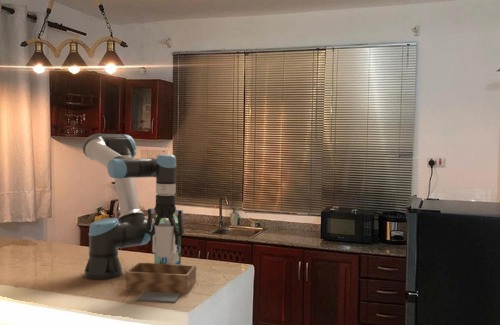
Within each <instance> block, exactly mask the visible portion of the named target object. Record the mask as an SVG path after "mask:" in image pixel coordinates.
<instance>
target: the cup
mask: <svg viewBox="0 0 500 325" xmlns="http://www.w3.org/2000/svg"><path fill="white" fill-rule="evenodd" d="M173 228H174V226H171V224H170V223H159V225H158V226H156V225H155V236H156V256H158V257H170V256H172V255H173V237H174V232H173Z"/></svg>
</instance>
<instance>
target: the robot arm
mask: <svg viewBox="0 0 500 325" xmlns="http://www.w3.org/2000/svg"><path fill="white" fill-rule="evenodd" d="M82 153H83V154H84V155H85V156H86V158H88V159H89V160H91V161H96V162H98V163H99V164H100V165H101V166H103V167H105V168H107V169H106V170H107V173H108V177H110V178H112V179H114V184H115V190H116V196H117V202H118V207H119V212H120V215H119V216H118V218H116V217H106V218H101V219H97V220H94V221H93V222H91V223H90V224H89V232H88V238H89V240H88V244H89V245H88V259H87V261H86V266H85V268H84V277H85V278H87V279H89V280H109V279H115V278H117V277H120V276H121V275H122V274H123V268H122V263H121V261H120V257H119V249H123V248H130V247H131V248H132V247H140V246H143V245H147V244H148V243H149V242H150V244H152V249H151V250H152V251H151V252H152V253H154V252H156V236H155V225H156V226H158V225H159V222H160V220H161V218H168V219H169V221H170V224H171V226H174V228H173V232H174V235H175V236H174V237H173V254H175V253H176V249H177V245H178V244H179V236H181V237H182V236H183V235H185V230H184V229H185V228H184V220H183V214H184V210H183V208H181V209H180V208H177V207H176V193H177V192H176V180H177V179H176V178H177V158H176V156H175V155H174V154H158V155H157V156H156V158H155V157H148V158H135V157H136V155H137V146H136V142H135V140H134V138H133V137H132V136H130V135H129V134H123V133H117V134H115V133H94V134H92V135H89V136H88V137H86V139H85V140H84V141H83V143H82ZM137 178H155V179H156V180H155V194H156V195H155V206H154V207H149V208H147V215H148V216H147V217H146V216H145V213H144V212H143V211H141V209H140V208H141V207H140V203H139V198H138V193H137V189H136V184H135V179H137ZM154 213H156V214H157V218H156V221H155V220H154V223H153V219H154ZM174 214H175V215H176V216H177V218H178V226H179V231H178V228H177V225H176V223H175V220H174V216H173V215H174Z"/></svg>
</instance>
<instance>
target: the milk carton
mask: <svg viewBox="0 0 500 325" xmlns="http://www.w3.org/2000/svg"><path fill="white" fill-rule="evenodd" d="M157 215H158V214H157ZM157 215H154V222H155V221H156V218H157ZM173 216H174V220H175V223H176V225H177V228H178V231H179V226H178V216H177V214H176V213H174V214H173ZM159 223H170V221H169V219H168V218H161V220H160V222H159ZM174 236H175V235H174ZM181 247H182V235H181V236H179V244H178V245H177V249H176V253H175V254H173V255H172V256H170V257H158V256H156V252H154V254H153V255H154V256H153V259H154V262H153V263H157V264H177V265H182V264H181V262H182V260H181V258H182V256H181V255H182V248H181Z"/></svg>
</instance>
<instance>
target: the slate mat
mask: <svg viewBox="0 0 500 325" xmlns="http://www.w3.org/2000/svg"><path fill="white" fill-rule="evenodd" d="M181 296H182V294H180V293H162V292H145V291H143V292H142V293H141V294H140V295H139V296H138V297H137V298H136V302H152V303H153V302H154V303H167V304H168V303H169V304H175V303H176V302H177V301H178V300H179V299H180V298H181Z"/></svg>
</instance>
